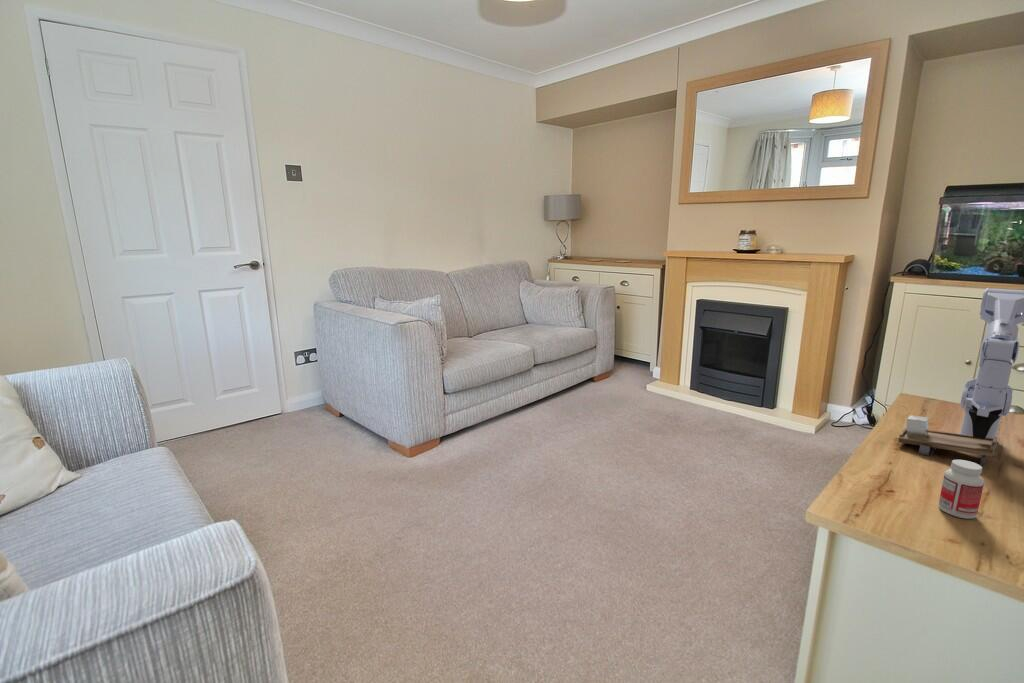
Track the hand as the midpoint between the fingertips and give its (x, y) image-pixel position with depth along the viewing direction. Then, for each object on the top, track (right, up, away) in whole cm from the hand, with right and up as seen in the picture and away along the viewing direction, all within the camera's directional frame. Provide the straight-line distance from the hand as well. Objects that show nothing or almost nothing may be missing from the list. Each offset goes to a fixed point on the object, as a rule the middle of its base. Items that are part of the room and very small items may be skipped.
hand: (979, 435), depth 125 cm
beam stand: (-4, -6, +6) cm, 10 cm away
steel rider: (-8, -2, +10) cm, 13 cm away
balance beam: (-4, -3, +5) cm, 7 cm away
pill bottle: (-26, -12, -21) cm, 36 cm away
